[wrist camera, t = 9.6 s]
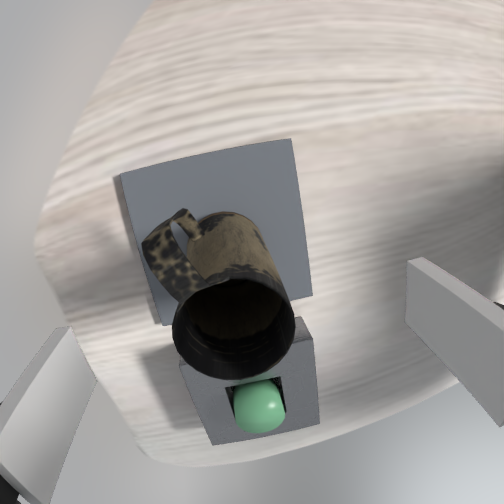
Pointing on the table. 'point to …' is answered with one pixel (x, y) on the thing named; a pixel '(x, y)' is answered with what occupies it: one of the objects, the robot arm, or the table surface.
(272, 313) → the mug
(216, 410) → the button box
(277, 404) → the button
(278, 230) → the mat
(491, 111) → the table surface
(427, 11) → the table surface
